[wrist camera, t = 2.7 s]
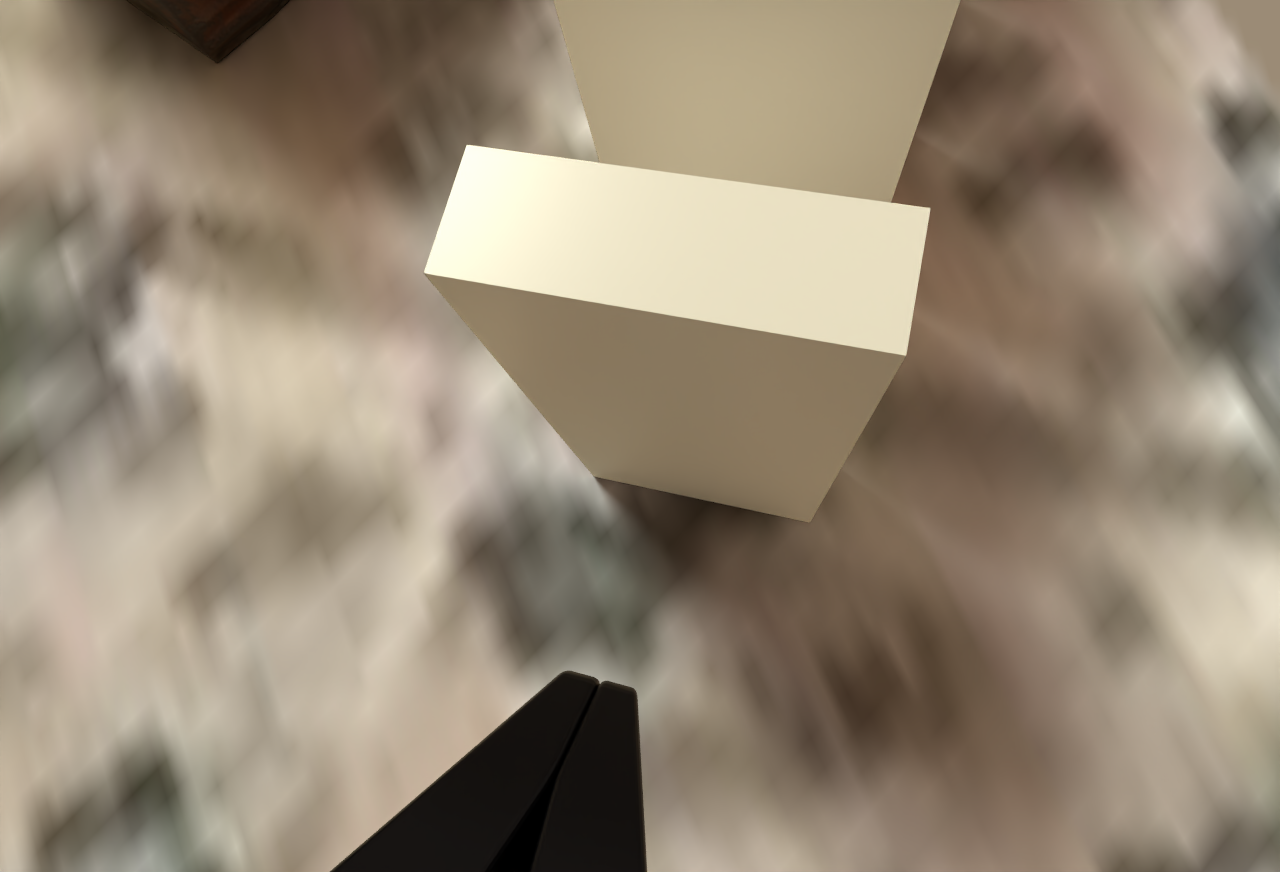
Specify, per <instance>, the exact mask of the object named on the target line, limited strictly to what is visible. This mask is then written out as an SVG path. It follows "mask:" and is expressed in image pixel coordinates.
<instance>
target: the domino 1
mask: <svg viewBox="0 0 1280 872" xmlns="http://www.w3.org/2000/svg"><path fill="white" fill-rule="evenodd" d="M553 1H554V4H555V8H556V11H557V15H558V18H559V22H560V25H561V29H562V32H563V36H564V39H565V43H566V46H567V50H568V53H569V57H570V60H571V64H572V67H573V71H574V74H575V78H576V81H577V85H578V88H579V92H580V95H581V99H582V102H583V106H584V110H585V113H586V117H587V120H588V124H589V127H590V131H591V134H592V138H593V141H594V145H595V148H596V152H597V155H598V159H599V162H600V163H604V164H611V165H618V166H626V167H633V168H640V169H648V170H655V171H662V172H670V173H677V174H684V175H692V176H699V177H706V178H714V179H721V180H728V181H736V182H743V183H750V184H758V185H765V186H772V187H780V188H787V189H794V190H802V191H809V192H816V193H824V194H831V195H838V196H846V197H853V198H860V199H868V200H875V201H882V202H890V203H891V201H892V198H893V195H894V192H895V189H896V186H897V183H898V180H899V177H900V175H901V172H902V169H903V166H904V163H905V160H906V157H907V154H908V151H909V148H910V146H911V143H912V140H913V137H914V134H915V131H916V128H917V125H918V122H919V119H920V116H921V114H922V111H923V108H924V105H925V102H926V99H927V96H928V93H929V90H930V87H931V84H932V82H933V79H934V76H935V73H936V70H937V67H938V64H939V61H940V58H941V55H942V53H943V50H944V47H945V44H946V41H947V38H948V35H949V32H950V29H951V26H952V23H953V21H954V18H955V15H956V12H957V9H958V6H959V3H960V0H553Z"/></svg>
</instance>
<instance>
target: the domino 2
mask: <svg viewBox="0 0 1280 872" xmlns="http://www.w3.org/2000/svg"><path fill="white" fill-rule="evenodd" d="M929 214H930V208H926V207H919V206H912V205H904V204H897V203H890V202H882V201H875V200H868V199H860V198H853V197H846V196H838V195H831V194H824V193H816V192H809V191H802V190H794V189H787V188H780V187H772V186H765V185H758V184H750V183H743V182H736V181H728V180H721V179H714V178H706V177H699V176H692V175H684V174H677V173H670V172H662V171H655V170H648V169H640V168H633V167H626V166H618V165H611V164H604V163H596V162H589V161H582V160H575V159H567V158H560V157H553V156H545V155H538V154H531V153H523V152H516V151H509V150H501V149H494V148H487V147H479V146H472V145H467V146H466V149H465V152H464V155H463V158H462V161H461V164H460V167H459V170H458V173H457V176H456V179H455V182H454V185H453V188H452V191H451V194H450V197H449V200H448V202H447V205H446V208H445V211H444V214H443V217H442V220H441V223H440V226H439V229H438V232H437V235H436V238H435V241H434V244H433V247H432V250H431V253H430V256H429V259H428V262H427V265H426V268H425V271H424V274H425V275H426V276H427V278H428V279H429V280H430V281H431V282H432V284H433V285H434V286H435V287H436V288H437V290H438V291H439V292H440V293H441V294H442V296H443V297H444V298H445V299H446V300H447V302H448V303H449V304H450V305H451V306H452V308H453V309H454V310H455V311H456V312H457V314H458V315H459V316H460V317H461V318H462V319H463V321H464V322H465V323H466V324H467V325H468V327H469V328H470V329H471V330H472V331H473V333H474V334H475V335H476V336H477V337H478V339H479V340H480V341H481V342H482V343H483V345H484V346H485V347H486V348H487V349H488V351H489V352H490V353H491V354H492V355H493V357H494V358H495V359H496V360H497V361H498V363H499V364H500V365H501V366H502V367H503V368H504V370H505V371H506V372H507V373H508V374H509V376H510V377H511V378H512V379H513V380H514V382H515V383H516V384H517V385H518V386H519V388H520V389H521V390H522V391H523V392H524V394H525V395H526V396H527V397H528V398H529V400H530V401H531V402H532V403H533V404H534V406H535V407H536V408H537V409H538V410H539V412H540V413H541V414H542V415H543V416H544V417H545V419H546V420H547V421H548V422H549V423H550V425H551V426H552V427H553V428H554V429H555V431H556V432H557V433H558V434H559V435H560V437H561V438H562V439H563V440H564V441H565V443H566V444H567V445H568V446H569V447H570V449H571V450H572V451H573V452H574V453H575V455H576V456H577V457H578V458H579V459H580V461H581V462H582V463H583V464H584V465H585V466H586V468H587V469H588V470H589V471H590V472H591V474H592V475H593V476H594V477H599V478H603V479H608V480H613V481H617V482H622V483H627V484H631V485H636V486H641V487H645V488H650V489H655V490H659V491H664V492H669V493H673V494H678V495H683V496H687V497H692V498H697V499H701V500H706V501H711V502H715V503H720V504H725V505H729V506H734V507H739V508H743V509H748V510H753V511H757V512H762V513H767V514H771V515H776V516H781V517H785V518H790V519H795V520H799V521H804V522H809V523H810V522H811V520H812V518H813V517H814V515H815V513H816V511H817V510H818V508H819V506H820V504H821V503H822V501H823V499H824V498H825V496H826V494H827V492H828V491H829V489H830V487H831V485H832V484H833V482H834V480H835V478H836V477H837V475H838V473H839V471H840V470H841V468H842V466H843V465H844V463H845V461H846V459H847V458H848V456H849V454H850V452H851V451H852V449H853V447H854V445H855V444H856V442H857V440H858V438H859V437H860V435H861V433H862V432H863V430H864V428H865V426H866V425H867V423H868V421H869V419H870V418H871V416H872V414H873V412H874V411H875V409H876V407H877V405H878V404H879V402H880V400H881V399H882V397H883V395H884V393H885V392H886V390H887V388H888V386H889V385H890V383H891V381H892V379H893V378H894V376H895V374H896V373H897V371H898V369H899V367H900V366H901V364H902V362H903V360H904V359H905V357H906V354H907V348H908V342H909V336H910V330H911V324H912V317H913V311H914V305H915V299H916V293H917V287H918V281H919V275H920V269H921V263H922V257H923V251H924V245H925V239H926V233H927V227H928V220H929Z"/></svg>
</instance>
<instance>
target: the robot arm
mask: <svg viewBox="0 0 1280 872" xmlns="http://www.w3.org/2000/svg"><path fill="white" fill-rule="evenodd" d="M330 872H647V861H646V843H645V825H644V807H643V789H642V771H641V753H640V734H639V716H638V699H637V693H636V690H635V689H634V688H631V687H628V686H624V685H621V684H617V683H613V682H610V681H604V682H602V683H601V684H600V683H599V681H598V680H597V679H596V678H595V677H591V676H588V675H584V674H580V673H577V672H573V671H565V672H562V673H560V674H559V675H558V676H557V677H556V678H554V679H553V680H552V681H551V682H550V683H549V684H547V685H546V686H545V687H544V688H543V689H542V690H540V691H539V692H538V693H537V694H536V695H535V696H533V697H532V698H531V699H530V700H529V701H528V702H527V703H525V704H524V705H523V706H522V707H521V708H520V709H518V710H517V711H516V712H515V713H514V714H513V715H511V716H510V717H509V718H508V719H507V720H506V721H504V722H503V723H502V724H501V725H500V726H499V727H497V728H496V729H495V730H494V731H493V732H492V733H490V734H489V735H488V736H487V737H486V738H485V739H484V740H482V741H481V742H480V743H479V744H478V745H477V746H475V747H474V748H473V749H472V750H471V751H470V752H468V753H467V754H466V755H465V756H464V757H463V758H461V759H460V760H459V761H458V762H457V763H456V764H454V765H453V766H452V767H451V768H450V769H449V770H448V771H446V772H445V773H444V774H443V775H442V776H441V777H439V778H438V779H437V780H436V781H435V782H434V783H432V784H431V785H430V786H429V787H428V788H427V789H425V790H424V791H423V792H422V793H421V794H420V795H418V796H417V797H416V798H415V799H414V800H413V801H411V802H410V803H409V804H408V805H407V806H406V807H405V808H403V809H402V810H401V811H400V812H399V813H398V814H396V815H395V816H394V817H393V818H392V819H391V820H389V821H388V822H387V823H386V824H385V825H384V826H382V827H381V828H380V829H379V830H378V831H377V832H375V833H374V834H373V835H372V836H371V837H370V838H368V839H367V840H366V841H365V842H364V843H363V844H362V845H360V846H359V847H358V848H357V849H356V850H355V851H353V852H352V853H351V854H350V855H349V856H348V857H346V858H345V859H344V860H343V861H342V862H341V863H339V864H338V865H337V866H336V867H335V868H334V869H332V870H331V871H330Z"/></svg>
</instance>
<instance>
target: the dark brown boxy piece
mask: <svg viewBox="0 0 1280 872" xmlns="http://www.w3.org/2000/svg"><path fill="white" fill-rule="evenodd" d="M127 1H129V2H130V3H131V4H132V5H134V6H135V7H137V8H138V9H139V10H141V11H142V12H144V13H145V14H147V15H148V16H150V17H151V18H153V19H154V20H156V21H157V22H158V23H160V24H161V25H163V26H164V27H166V28H167V29H169V30H170V31H172V32H173V33H174V34H176V35H177V36H179V37H180V38H182V39H183V40H185V41H186V42H188V43H189V44H191V45H192V46H193V47H195V48H196V49H198V50H199V51H201V52H202V53H204V54H205V55H207V56H208V57H209V58H211V59H212V60H214V61H215V62H217V63H218V62H219V61H220V60H221V59H223V58H224V57H225V56H226V55H228V54H229V53H230V52H231V51H232V50H234V49H235V48H236V47H237V46H238V45H240V44H241V43H242V42H243V41H244V40H246V39H247V38H248V37H249V36H250V35H252V34H253V33H254V32H255V31H257V30H258V29H259V28H260V27H261V26H263V25H264V24H265V23H266V22H267V21H269V20H270V19H271V18H272V17H273V16H274V15H275V14H276V13H277V12H278V11H279V10H280V9H281V8H282V7H283V6H284V5H285V4H286V3H287V2H288V1H289V0H127Z"/></svg>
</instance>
